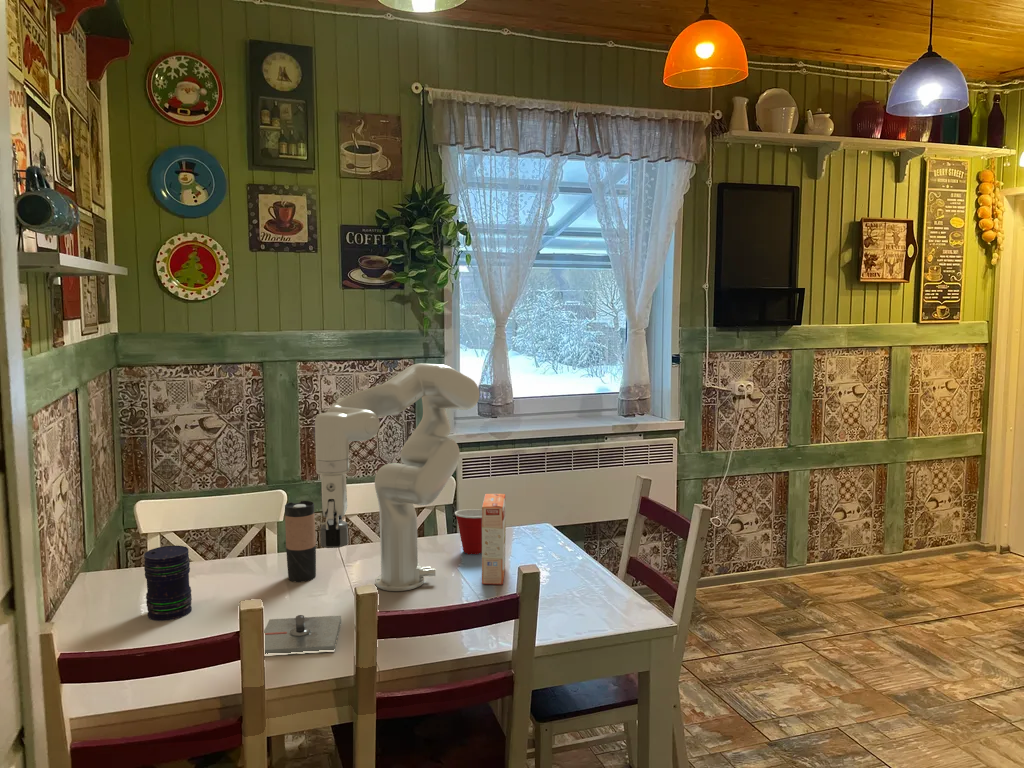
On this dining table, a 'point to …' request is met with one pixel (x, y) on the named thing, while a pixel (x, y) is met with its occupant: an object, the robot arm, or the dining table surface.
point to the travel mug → (300, 541)
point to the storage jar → (167, 583)
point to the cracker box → (493, 538)
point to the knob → (343, 535)
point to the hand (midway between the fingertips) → (334, 540)
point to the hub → (301, 634)
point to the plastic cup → (470, 530)
